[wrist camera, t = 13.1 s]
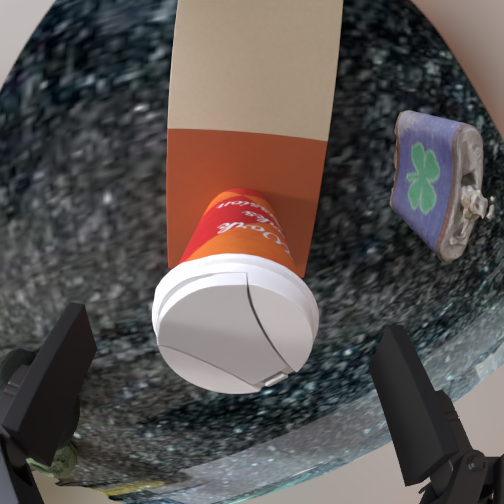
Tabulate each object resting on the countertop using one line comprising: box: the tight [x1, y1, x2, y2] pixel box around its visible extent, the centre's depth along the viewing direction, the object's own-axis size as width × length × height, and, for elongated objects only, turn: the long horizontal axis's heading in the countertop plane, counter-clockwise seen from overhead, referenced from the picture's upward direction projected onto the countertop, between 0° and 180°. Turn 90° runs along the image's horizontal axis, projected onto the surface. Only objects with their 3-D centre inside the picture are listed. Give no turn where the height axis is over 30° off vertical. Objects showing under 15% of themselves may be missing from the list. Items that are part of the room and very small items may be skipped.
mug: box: [26, 442, 78, 478], centre depth 43 cm, size 16×13×9 cm
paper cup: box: [152, 188, 319, 394], centre depth 19 cm, size 8×8×14 cm
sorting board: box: [167, 0, 343, 278], centre depth 22 cm, size 24×12×1 cm, turn 175°
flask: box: [390, 110, 494, 262], centre depth 19 cm, size 9×3×11 cm, turn 2°
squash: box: [0, 349, 80, 459], centre depth 31 cm, size 14×15×15 cm
